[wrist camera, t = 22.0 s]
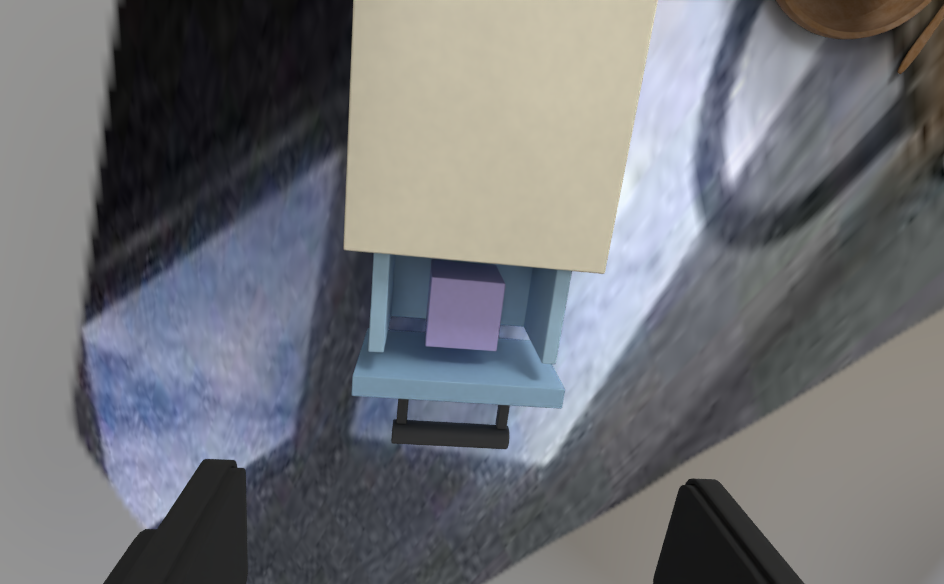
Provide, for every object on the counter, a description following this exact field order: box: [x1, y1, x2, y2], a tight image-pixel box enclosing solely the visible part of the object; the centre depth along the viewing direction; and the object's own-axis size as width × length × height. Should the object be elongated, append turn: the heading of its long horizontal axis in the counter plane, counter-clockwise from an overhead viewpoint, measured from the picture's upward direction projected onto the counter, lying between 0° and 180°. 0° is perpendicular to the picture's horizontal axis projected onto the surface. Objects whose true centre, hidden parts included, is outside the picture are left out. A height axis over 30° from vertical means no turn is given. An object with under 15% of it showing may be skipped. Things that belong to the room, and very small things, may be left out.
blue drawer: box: [352, 253, 572, 449], centre depth 29 cm, size 18×11×7 cm, turn 173°
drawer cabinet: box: [343, 0, 658, 274], centre depth 26 cm, size 15×13×9 cm
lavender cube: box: [425, 260, 506, 351], centre depth 30 cm, size 4×4×4 cm
